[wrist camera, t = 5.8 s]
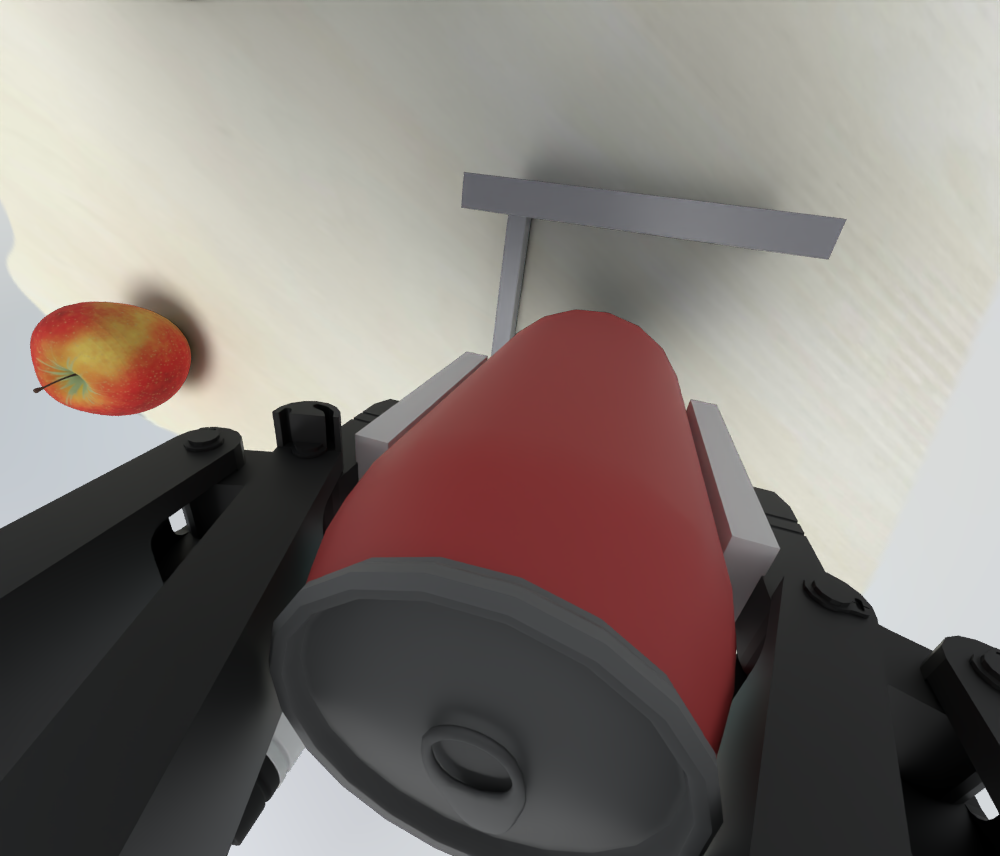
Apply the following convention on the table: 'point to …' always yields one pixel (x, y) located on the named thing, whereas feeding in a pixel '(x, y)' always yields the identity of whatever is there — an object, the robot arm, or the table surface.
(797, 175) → the table surface
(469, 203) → the bay
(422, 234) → the table surface
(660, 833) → the beer can
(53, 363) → the apple
